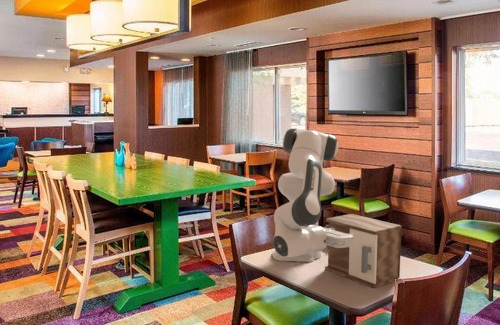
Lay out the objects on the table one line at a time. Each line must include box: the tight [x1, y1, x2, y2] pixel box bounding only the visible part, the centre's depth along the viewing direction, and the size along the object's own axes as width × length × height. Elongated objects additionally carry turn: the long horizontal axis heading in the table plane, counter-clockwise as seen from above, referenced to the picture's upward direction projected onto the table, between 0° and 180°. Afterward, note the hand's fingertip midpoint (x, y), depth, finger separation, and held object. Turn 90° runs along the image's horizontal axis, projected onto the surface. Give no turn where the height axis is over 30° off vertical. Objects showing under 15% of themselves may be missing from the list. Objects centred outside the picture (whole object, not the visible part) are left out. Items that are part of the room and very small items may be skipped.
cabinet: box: [324, 213, 402, 289], centre depth 196 cm, size 16×26×22 cm, turn 36°
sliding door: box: [349, 228, 378, 284], centre depth 185 cm, size 5×13×19 cm, turn 36°
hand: (343, 232), depth 173 cm, fingers open, 8 cm apart
